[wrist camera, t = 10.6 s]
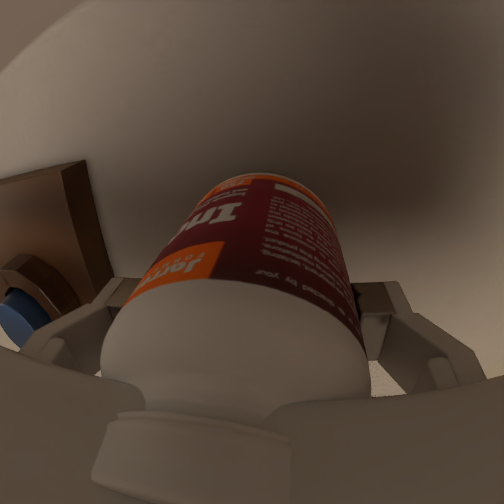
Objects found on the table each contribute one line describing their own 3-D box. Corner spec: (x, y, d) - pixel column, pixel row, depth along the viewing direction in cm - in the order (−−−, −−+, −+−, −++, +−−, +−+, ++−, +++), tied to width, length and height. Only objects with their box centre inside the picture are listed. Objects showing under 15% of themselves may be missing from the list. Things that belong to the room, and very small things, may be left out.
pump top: (3, 285, 14) (-13, 300, 13) (40, 290, 14) (22, 308, 12) (27, 333, 16) (14, 349, 15) (65, 342, 16) (52, 362, 14)
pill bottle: (237, 138, 11) (11, 387, 1) (363, 224, 12) (463, 502, 3) (169, 254, 14) (44, 475, 4) (279, 317, 15) (258, 548, 5)
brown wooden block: (-11, 183, 15) (-50, 204, 11) (85, 159, 14) (35, 182, 10) (39, 318, 21) (14, 349, 17) (134, 334, 19) (111, 377, 16)
